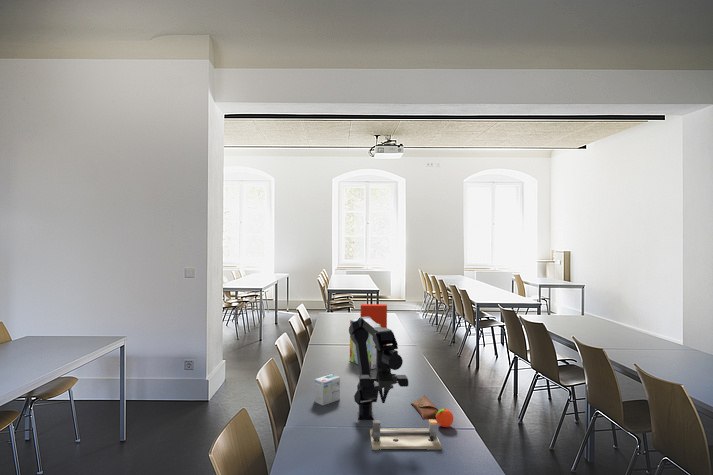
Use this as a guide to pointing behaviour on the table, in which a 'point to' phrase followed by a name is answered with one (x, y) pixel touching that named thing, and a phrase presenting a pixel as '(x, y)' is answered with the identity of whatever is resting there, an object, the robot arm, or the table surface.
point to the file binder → (375, 313)
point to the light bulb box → (327, 389)
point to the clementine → (444, 417)
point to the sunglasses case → (425, 408)
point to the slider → (433, 429)
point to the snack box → (370, 350)
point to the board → (401, 438)
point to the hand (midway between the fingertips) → (383, 402)
